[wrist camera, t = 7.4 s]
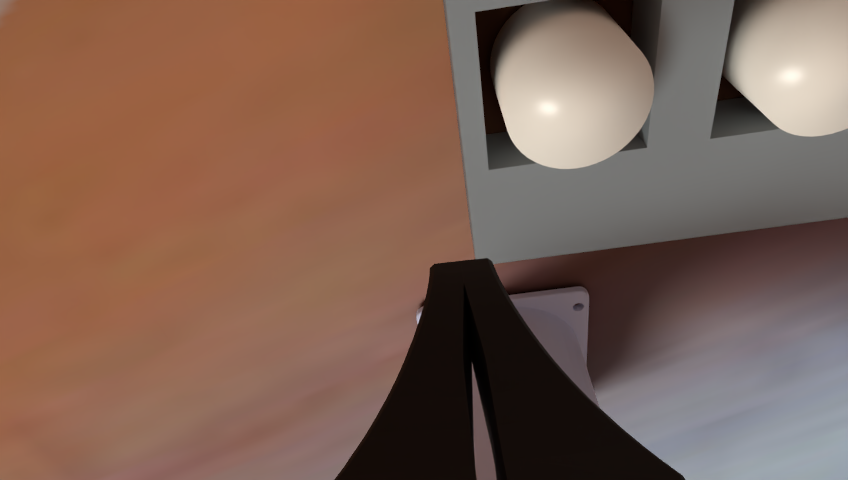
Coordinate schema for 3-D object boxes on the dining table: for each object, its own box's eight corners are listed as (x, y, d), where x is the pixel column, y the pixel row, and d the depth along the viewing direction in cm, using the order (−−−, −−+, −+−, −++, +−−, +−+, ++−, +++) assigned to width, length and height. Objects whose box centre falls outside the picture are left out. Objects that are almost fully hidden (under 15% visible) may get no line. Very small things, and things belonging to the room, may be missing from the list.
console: (1015, 153, 24) (1071, 188, 22) (470, 227, 25) (476, 266, 23) (1274, -319, 15) (1404, -332, 13) (423, -169, 17) (426, -161, 15)
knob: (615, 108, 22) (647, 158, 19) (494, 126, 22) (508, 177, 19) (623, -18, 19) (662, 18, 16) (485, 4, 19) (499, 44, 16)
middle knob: (829, 79, 21) (894, 125, 18) (703, 97, 21) (748, 145, 19) (870, -56, 18) (952, -25, 16) (724, -33, 19) (780, 1, 16)
